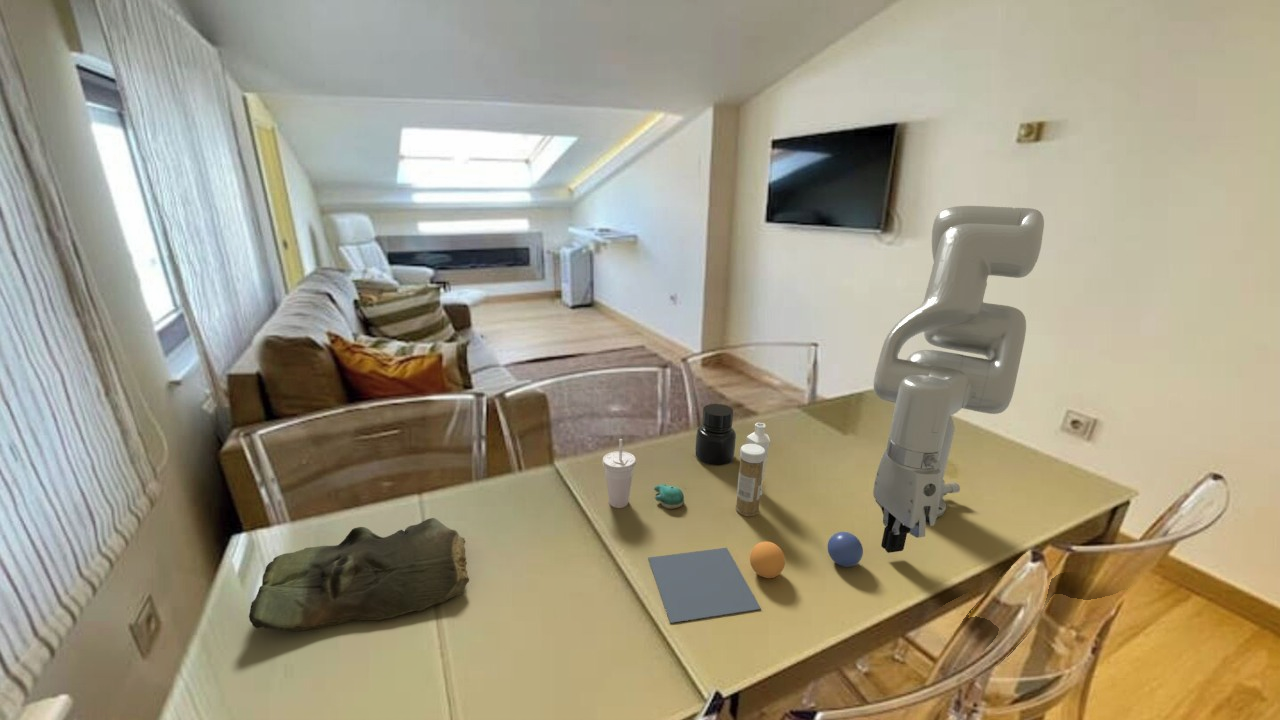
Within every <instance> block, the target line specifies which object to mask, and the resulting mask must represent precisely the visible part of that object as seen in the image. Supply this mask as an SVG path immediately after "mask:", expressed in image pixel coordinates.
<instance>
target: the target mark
mask: <svg viewBox="0 0 1280 720" xmlns="http://www.w3.org/2000/svg"><path fill="white" fill-rule="evenodd" d="M647 559H648V562H649V566H650V569H651V571H652V574H653V577H654V580H655V582H656V586H657V588H658V591H659V595H660V599H661V601H662V604H663V606H664V609H666V610H665V613H666V612H667V613H666V615H668V616H667V619H668V618H669V619H668V622H669V621H670V622H669V624H670V623H672V624H676V623H675V622H678V623H682V622H681V621H685V622H688V621H687V620H691V621H696V620H695V619H698V620H704V619H708V618H709V617H711V618H716V617H723V615H724V616H729V615H735V614H741V613H742V614H743V613H749V612H754V611H756V612H757V611H761V610H762V607H761V606H760V604H759V603H758V601H757V599H756V597H755V595H754V593H753V592H752V589H751V588H750V587H749V584H748V583H747V581H746V579H745V577H744V576H743V574H742V572H741V570H740V568H739V567H738V565H737V564H736V561H735V560H734V558H733V556H732V554H731V553H730V551H729V549H728V547H721V548H713V549H706V550H698V551H697V550H696V551H689V552H682V553H681V552H680V553H675V554H673V553H672V554H666V555H665V554H664V555H658V556H649V557H647ZM703 618H704V619H703ZM709 619H710V618H709Z"/></svg>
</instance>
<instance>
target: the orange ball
mask: <svg viewBox="0 0 1280 720" xmlns="http://www.w3.org/2000/svg"><path fill="white" fill-rule="evenodd" d="M785 557H786V556H785V554H784V552H783V550H782V549H781V548H780V547H779V546H778V545H777V544H775V543H774V542H771V541H761V542H758V543H756V544H755V545H754V546H753V548H752V549H751V551H750V553H749V564H750V566H751V568H752V570H753V571H754V572H755V573H756V575H758V576H760V577H762V578H764V579H774V578H775V577H777V576H779V575H780V574H781V573H782V572H783V571H784V568H785V563H786V559H785Z"/></svg>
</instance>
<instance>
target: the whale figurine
mask: <svg viewBox="0 0 1280 720" xmlns="http://www.w3.org/2000/svg"><path fill="white" fill-rule="evenodd" d="M653 489H654V491H655V492H657V493H659V494H657V495H656V496H655V497H654V498H655V501H657V502H659V503H661V506H662V507H663V508H666V509H668V510H669V509H670V510H673V509H677V508H680V507H682V505H684V501H685V496H684V492H683V491H682V489H681V488H680V487H678V486H671V485H667V484H665V483H663V484H659V485H655V486H654V488H653Z"/></svg>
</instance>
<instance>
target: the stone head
mask: <svg viewBox="0 0 1280 720" xmlns="http://www.w3.org/2000/svg"><path fill="white" fill-rule="evenodd" d="M465 544H466V540H465V537H462V536H461V535H460V533H459V532H458V531H457V530H456V529H452V528H449V527H447V525H444V523H442V522H441V521H440V520H438V519H437V518H435V517H433V518H426V519H424V520H423V521H421V522H419V523H416V524H414V525H412V524H411V525H409V526H407V527H405V529H404V530H403V529H399V530H398V531H396V532H394V533H392V534H391V535H390V534H389V535H387V536H379V534H378V535H377V534H376V533H374V532H373V531H372V530H370V529H369V528H367V527H364V526H358V527H354V528H352V529H351V531H349V533H348V534H347V535H346V536H345V538H344V539H343V540H342V541H341V542H340V543H339V544H336V545H320V546H319V545H318V546H312V547H305V548H303V549H300V550H297V551H294V552H287V553H283V554H279V555H277V556H275V557H274V558H273V559H272V561H270V562H269V563H268V564H267V565H266V567H265V571H264V573H263V575H262V581H261V582H262V584H261V586H259V588H258V591H257V594H256V596H255V598H254V599H253V600H252V601H251V603H250V609H249V614H248V618H249V622H250V623H251V624H252V626H253V627H254V628H256V629H260V628H264V629H267V630H268V629H271V630H277V629H278V630H280V631H293V632H294V631H295V632H296V631H305V630H312V629H320V628H325V627H326V628H327V627H329V626H330V627H331V626H334V627H335V626H336V625H338V624H342V623H345V622H356V621H368V620H369V621H379V620H380V621H381V620H384V619H385V620H386V619H392V618H394V617H397V616H402V615H403V614H408V613H411V612H415V611H419V612H421V611H423V610H425V609H427V608H429V607H430V606H435V605H438V604H442V603H444V602H446V601H447V600H450V599H452V598H454V597H457V596H459V595H461V594H463V593H464V591H465V589H466V587H467V586H468V585H467V584H468V583H469V582H470V577H469V575H468V570H467V563H468V562H467V557H466V547H465Z"/></svg>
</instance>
